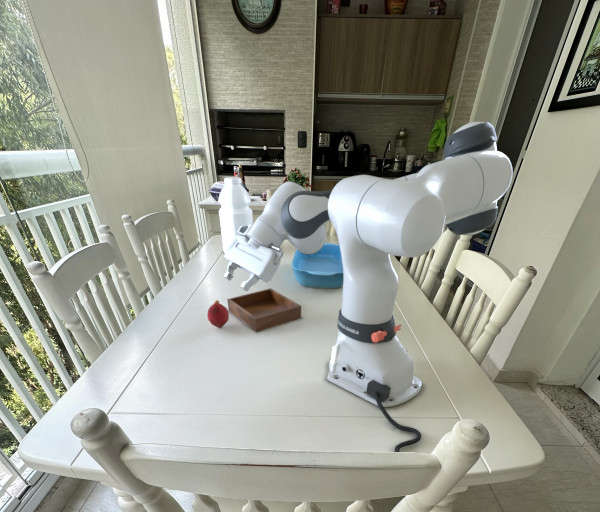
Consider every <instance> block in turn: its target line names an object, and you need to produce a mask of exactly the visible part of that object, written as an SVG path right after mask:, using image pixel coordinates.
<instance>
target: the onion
mask: <svg viewBox="0 0 600 512" xmlns="http://www.w3.org/2000/svg"><path fill="white" fill-rule="evenodd" d="M229 313H230V312H229V309H227V307H226V306H225V305H223V304H221V303H220V301H219V300H218V299H217V300H214V302H213V304H211V305H210V306H209V308H208V310H207V314H206V317H207V320H208V321H209V323H210V324H211V325H212V326H214V327H216V328H219V329H220V328H222V327H223V326H225V325H226V324H227V323H228V322H229V320H230V318H229V317H230V316H229V315H230V314H229Z"/></svg>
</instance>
